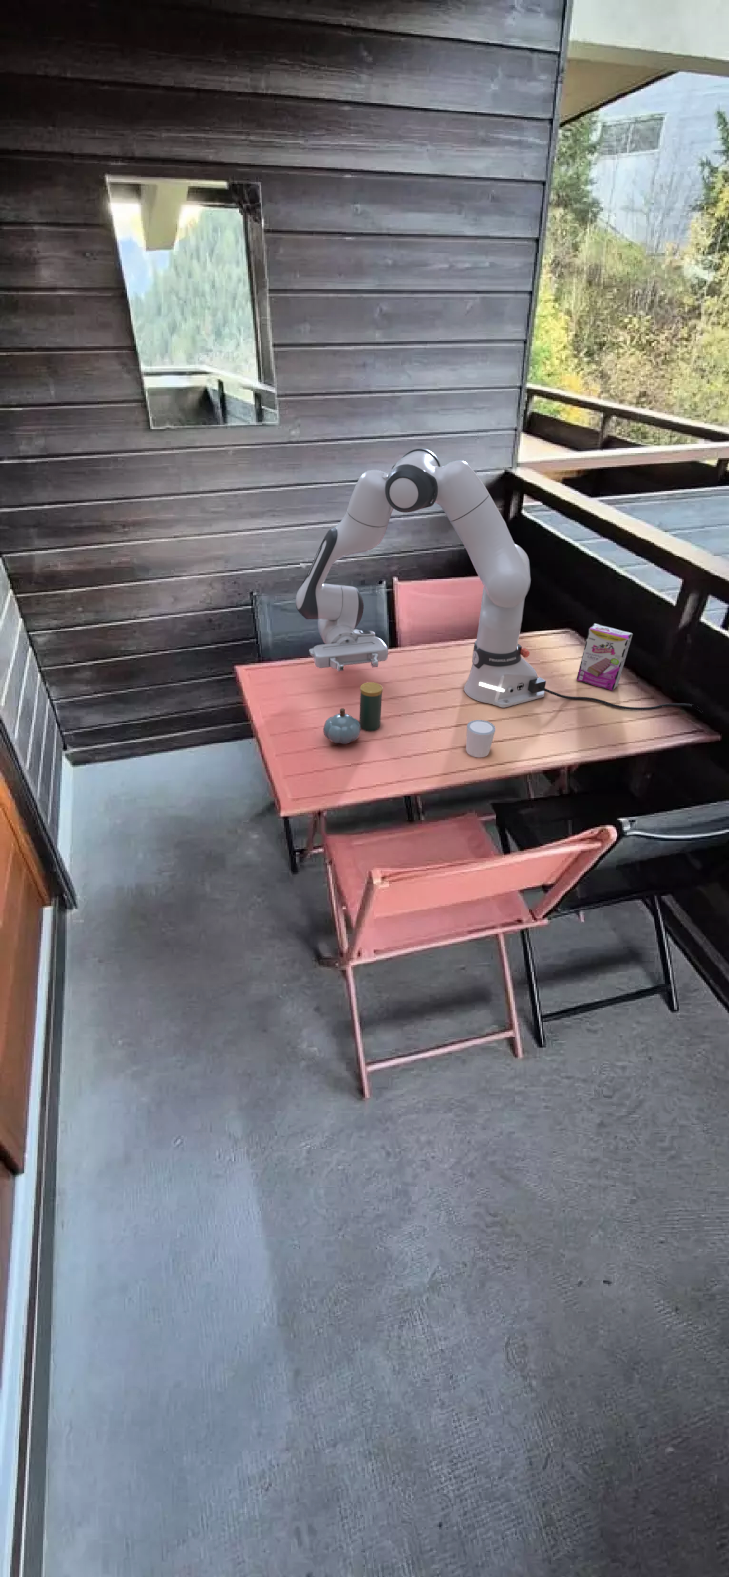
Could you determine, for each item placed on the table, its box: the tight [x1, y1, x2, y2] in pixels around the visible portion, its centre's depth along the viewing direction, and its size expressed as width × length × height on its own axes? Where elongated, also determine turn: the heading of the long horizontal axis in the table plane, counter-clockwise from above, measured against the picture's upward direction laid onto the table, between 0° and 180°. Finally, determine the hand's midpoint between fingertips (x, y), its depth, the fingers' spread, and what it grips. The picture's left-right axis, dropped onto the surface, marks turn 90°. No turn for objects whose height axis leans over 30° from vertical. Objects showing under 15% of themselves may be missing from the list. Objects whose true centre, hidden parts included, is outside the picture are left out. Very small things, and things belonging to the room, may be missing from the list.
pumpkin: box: [322, 707, 362, 745], centre depth 171 cm, size 9×9×9 cm
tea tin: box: [358, 681, 384, 732], centre depth 177 cm, size 6×6×11 cm
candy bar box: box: [576, 623, 634, 692], centre depth 198 cm, size 11×5×16 cm, turn 58°
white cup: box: [465, 719, 496, 758], centre depth 170 cm, size 7×7×7 cm
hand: (358, 666), depth 183 cm, fingers open, 8 cm apart
